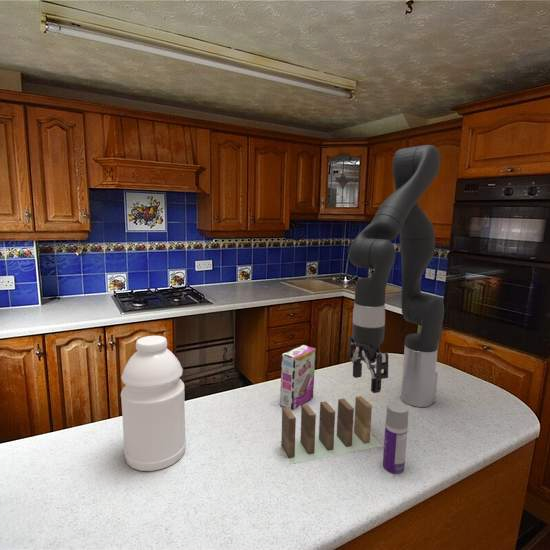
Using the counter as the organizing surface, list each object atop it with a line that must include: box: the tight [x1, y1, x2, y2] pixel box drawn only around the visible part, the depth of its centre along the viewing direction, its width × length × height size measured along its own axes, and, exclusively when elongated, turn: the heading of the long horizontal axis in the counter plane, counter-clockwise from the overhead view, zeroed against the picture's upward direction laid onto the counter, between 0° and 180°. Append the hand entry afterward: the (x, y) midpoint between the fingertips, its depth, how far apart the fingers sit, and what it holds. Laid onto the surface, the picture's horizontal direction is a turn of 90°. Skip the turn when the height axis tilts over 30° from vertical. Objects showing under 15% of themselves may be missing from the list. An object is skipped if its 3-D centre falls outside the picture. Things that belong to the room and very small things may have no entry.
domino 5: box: [353, 395, 373, 444], centre depth 94 cm, size 2×5×10 cm, turn 18°
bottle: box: [120, 335, 187, 472], centre depth 86 cm, size 14×14×28 cm
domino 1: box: [280, 407, 297, 458], centre depth 88 cm, size 2×5×10 cm, turn 18°
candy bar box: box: [279, 344, 317, 411], centre depth 112 cm, size 11×5×16 cm, turn 141°
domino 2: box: [299, 403, 317, 455], centre depth 90 cm, size 2×5×10 cm, turn 18°
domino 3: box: [318, 400, 336, 451], centre depth 91 cm, size 2×5×10 cm, turn 18°
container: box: [382, 401, 409, 475], centre depth 83 cm, size 5×5×15 cm
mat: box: [277, 427, 382, 465], centre depth 93 cm, size 24×9×1 cm, turn 108°
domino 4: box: [336, 398, 355, 447], centre depth 93 cm, size 2×5×10 cm, turn 18°
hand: (365, 384), depth 93 cm, fingers open, 8 cm apart
